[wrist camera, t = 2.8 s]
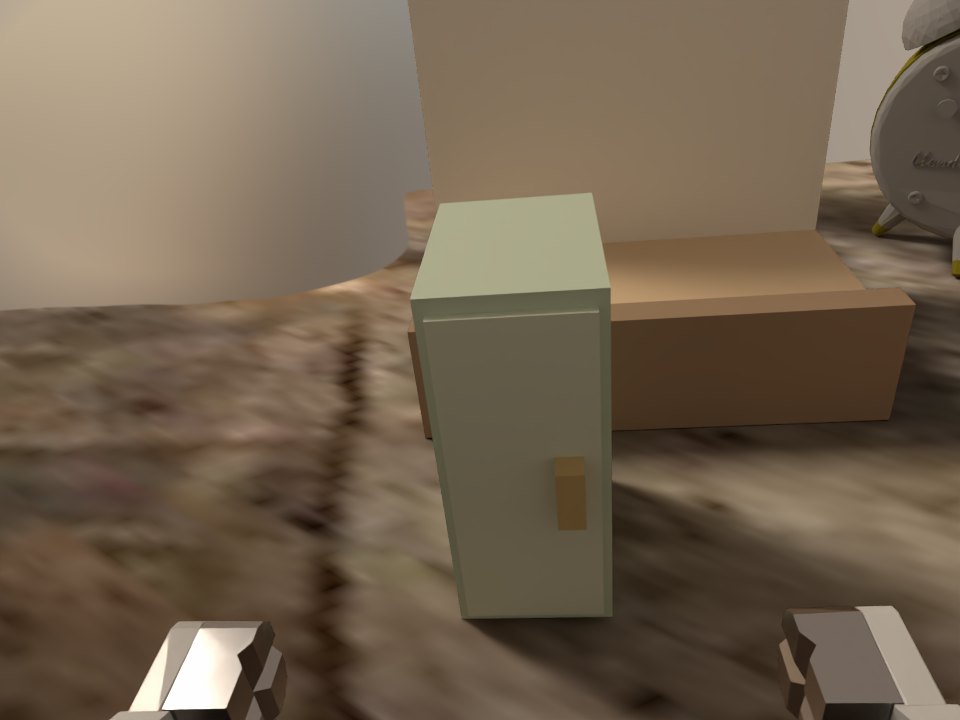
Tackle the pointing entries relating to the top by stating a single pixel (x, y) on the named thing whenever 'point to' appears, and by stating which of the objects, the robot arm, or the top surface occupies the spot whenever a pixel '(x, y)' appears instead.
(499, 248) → the cabinet
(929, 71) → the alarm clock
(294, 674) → the top surface
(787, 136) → the wall board
